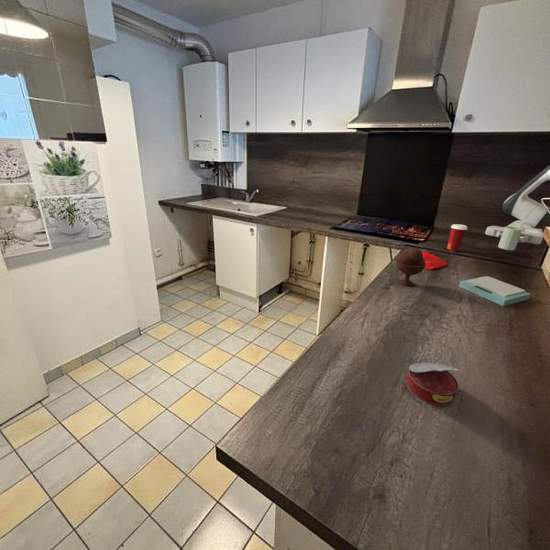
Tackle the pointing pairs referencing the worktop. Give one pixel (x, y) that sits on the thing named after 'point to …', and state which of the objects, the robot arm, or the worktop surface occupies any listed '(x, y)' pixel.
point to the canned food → (432, 382)
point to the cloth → (433, 261)
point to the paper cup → (456, 236)
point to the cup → (510, 238)
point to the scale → (495, 290)
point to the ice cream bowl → (410, 264)
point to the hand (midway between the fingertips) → (510, 237)
